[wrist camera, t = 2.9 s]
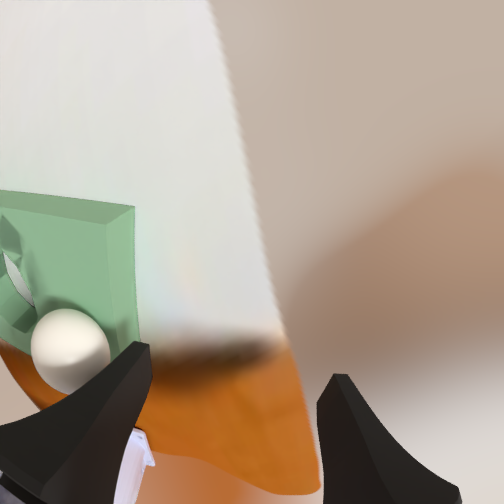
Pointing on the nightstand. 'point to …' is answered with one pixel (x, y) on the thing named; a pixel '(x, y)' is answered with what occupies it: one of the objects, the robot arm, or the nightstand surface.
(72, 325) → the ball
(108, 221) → the green
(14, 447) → the robot arm
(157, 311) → the nightstand surface
